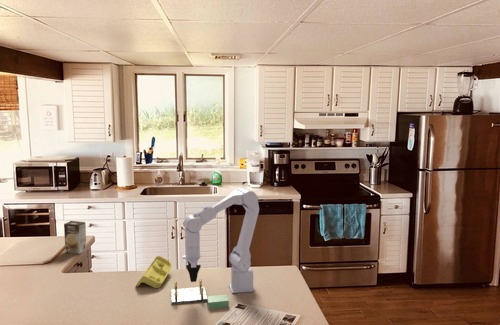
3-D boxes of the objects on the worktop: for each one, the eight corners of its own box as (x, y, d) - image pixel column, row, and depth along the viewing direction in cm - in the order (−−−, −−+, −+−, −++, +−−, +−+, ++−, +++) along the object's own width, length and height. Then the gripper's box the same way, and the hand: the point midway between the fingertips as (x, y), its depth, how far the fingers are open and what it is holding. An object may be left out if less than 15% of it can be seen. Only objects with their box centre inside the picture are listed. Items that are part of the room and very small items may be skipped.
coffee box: (64, 252, 201) (63, 223, 199) (72, 248, 208) (70, 220, 206) (79, 254, 200) (78, 225, 198) (87, 249, 206) (85, 221, 204)
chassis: (204, 288, 162) (204, 277, 162) (206, 301, 152) (206, 289, 151) (171, 291, 159) (171, 280, 159) (171, 304, 149) (171, 292, 148)
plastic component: (161, 284, 161) (140, 274, 161) (154, 298, 163) (134, 287, 162) (174, 263, 180) (155, 253, 180) (168, 275, 182) (149, 266, 182)
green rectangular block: (226, 301, 152) (226, 294, 152) (228, 307, 148) (228, 300, 147) (207, 303, 151) (207, 296, 150) (208, 309, 146) (208, 302, 145)
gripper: (182, 239, 157) (182, 270, 159) (182, 252, 143) (183, 286, 145) (199, 238, 158) (199, 269, 160) (201, 251, 144) (201, 284, 146)
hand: (193, 277), depth 152 cm, fingers open, 7 cm apart
